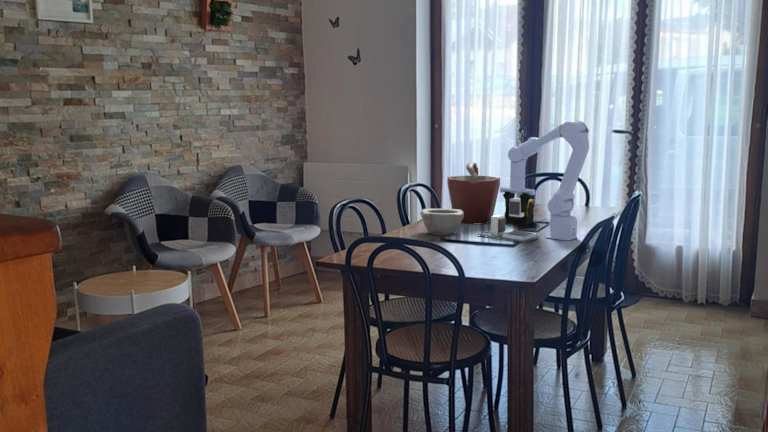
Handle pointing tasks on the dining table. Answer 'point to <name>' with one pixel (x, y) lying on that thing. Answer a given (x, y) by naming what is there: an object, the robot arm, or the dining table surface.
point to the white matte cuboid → (515, 207)
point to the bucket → (474, 195)
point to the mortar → (442, 220)
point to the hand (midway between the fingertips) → (516, 211)
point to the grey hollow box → (498, 232)
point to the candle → (521, 220)
